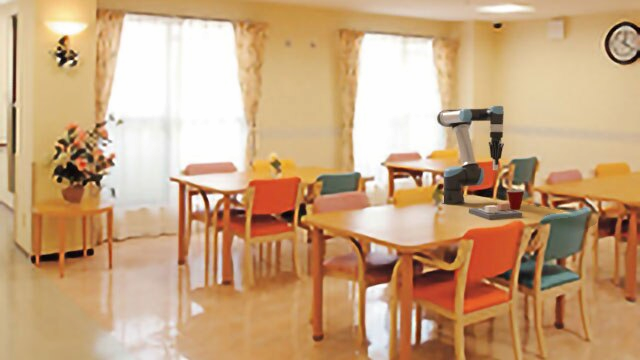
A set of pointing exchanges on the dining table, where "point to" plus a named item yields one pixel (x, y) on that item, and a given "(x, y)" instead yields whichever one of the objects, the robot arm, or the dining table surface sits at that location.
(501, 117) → the robot arm
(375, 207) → the dining table surface
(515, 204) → the plastic cup
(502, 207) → the fader
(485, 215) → the slider panel
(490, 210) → the fader
